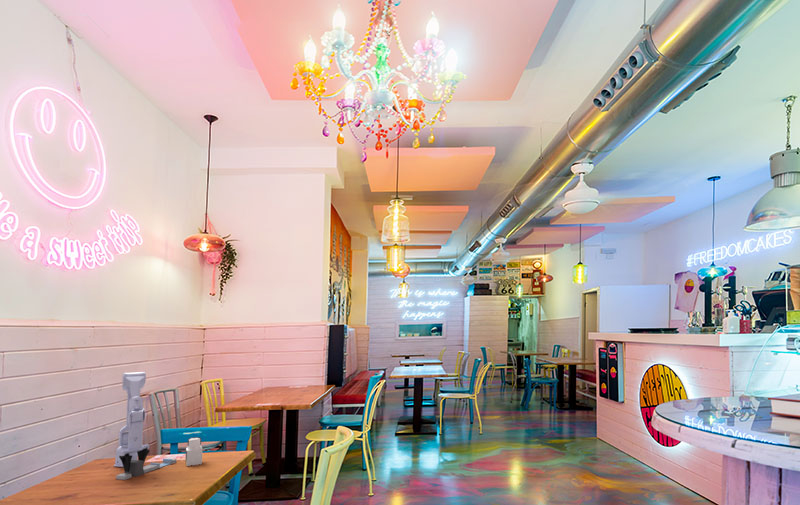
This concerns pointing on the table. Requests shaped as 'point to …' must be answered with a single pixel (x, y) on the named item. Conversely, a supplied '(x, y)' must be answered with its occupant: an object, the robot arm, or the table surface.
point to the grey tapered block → (135, 468)
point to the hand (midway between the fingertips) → (133, 469)
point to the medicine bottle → (194, 452)
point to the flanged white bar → (148, 468)
